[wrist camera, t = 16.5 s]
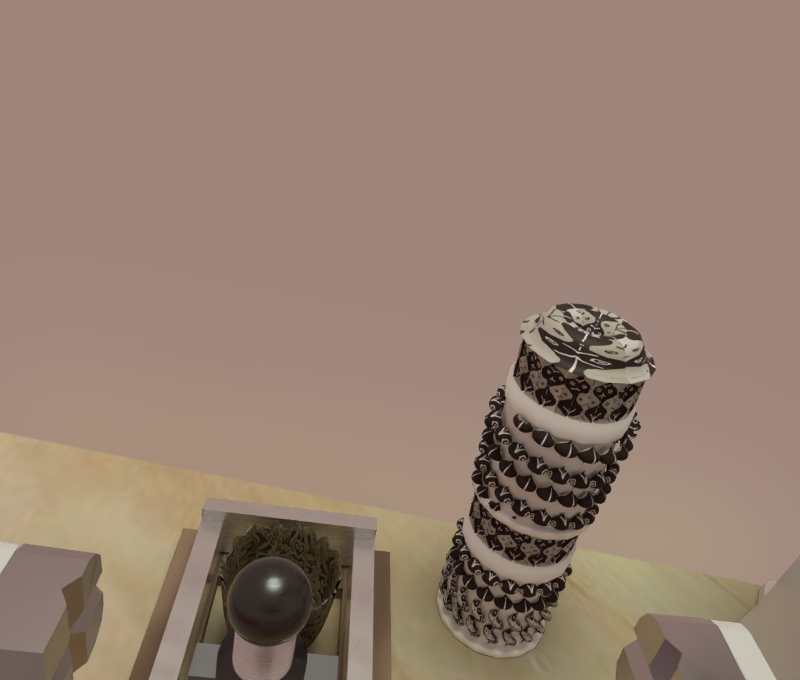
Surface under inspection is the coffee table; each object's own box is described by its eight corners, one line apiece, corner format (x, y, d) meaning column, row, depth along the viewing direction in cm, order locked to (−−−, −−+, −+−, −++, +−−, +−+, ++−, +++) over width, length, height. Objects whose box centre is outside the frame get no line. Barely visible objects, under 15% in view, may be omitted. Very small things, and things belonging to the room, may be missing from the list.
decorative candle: (573, 647, 49) (711, 360, 37) (464, 677, 45) (579, 369, 33) (511, 553, 56) (610, 288, 44) (413, 572, 52) (491, 287, 40)
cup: (248, 585, 48) (257, 504, 44) (342, 623, 47) (359, 543, 43) (191, 672, 42) (195, 585, 38) (297, 719, 40) (312, 634, 36)
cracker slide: (368, 555, 51) (416, 342, 42) (360, 884, 32) (443, 630, 23) (204, 537, 49) (216, 312, 40) (98, 868, 31) (79, 593, 22)
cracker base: (387, 561, 52) (401, 505, 50) (390, 888, 34) (412, 828, 31) (183, 537, 51) (185, 478, 48) (65, 869, 32) (57, 804, 29)
